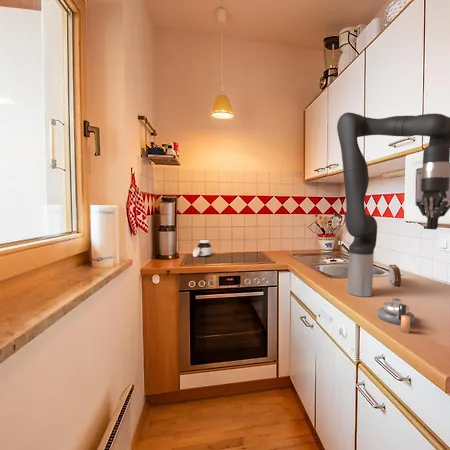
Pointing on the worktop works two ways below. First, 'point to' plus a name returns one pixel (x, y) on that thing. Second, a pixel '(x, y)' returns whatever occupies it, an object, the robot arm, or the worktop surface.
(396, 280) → the tin
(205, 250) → the spread jar
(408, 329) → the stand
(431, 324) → the worktop surface
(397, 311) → the dial
